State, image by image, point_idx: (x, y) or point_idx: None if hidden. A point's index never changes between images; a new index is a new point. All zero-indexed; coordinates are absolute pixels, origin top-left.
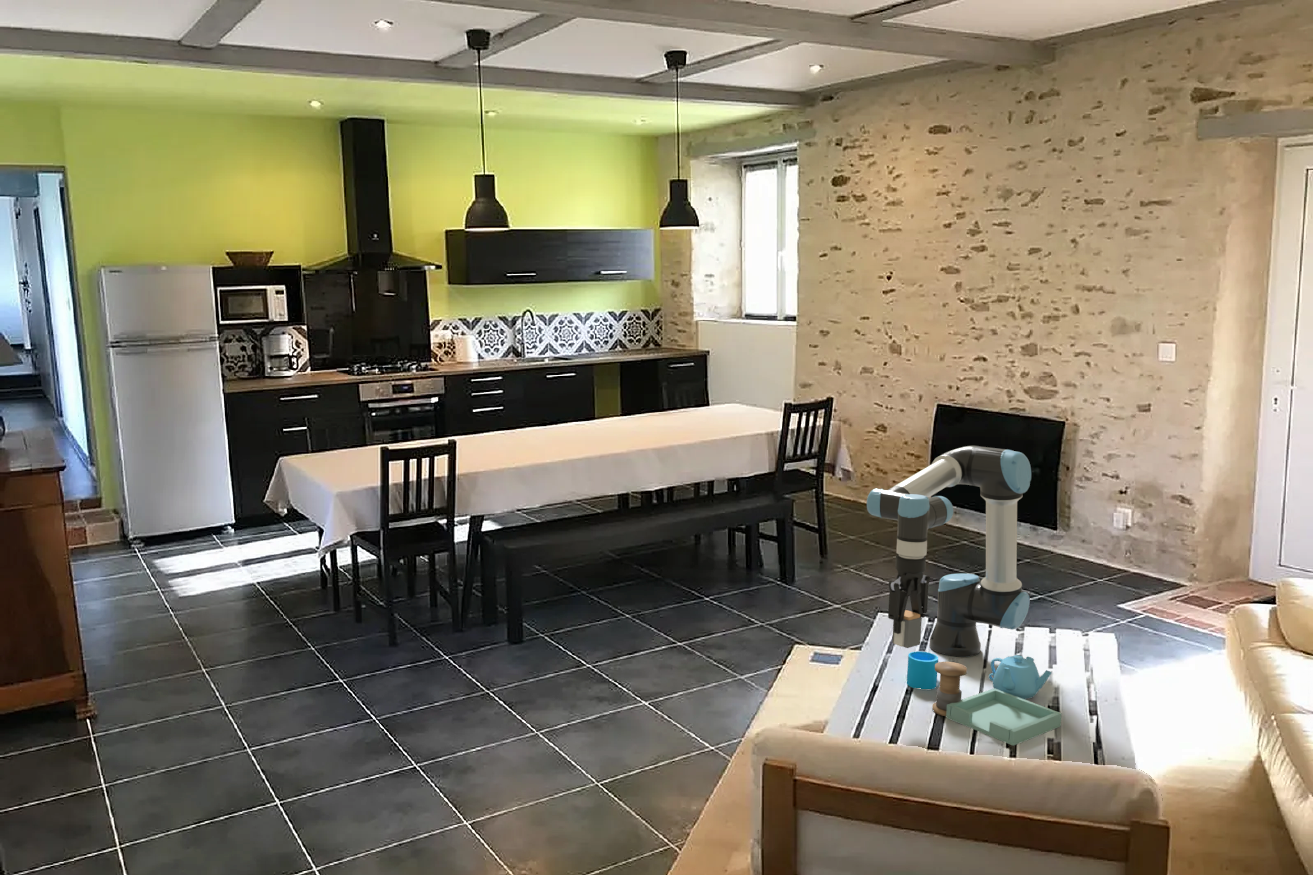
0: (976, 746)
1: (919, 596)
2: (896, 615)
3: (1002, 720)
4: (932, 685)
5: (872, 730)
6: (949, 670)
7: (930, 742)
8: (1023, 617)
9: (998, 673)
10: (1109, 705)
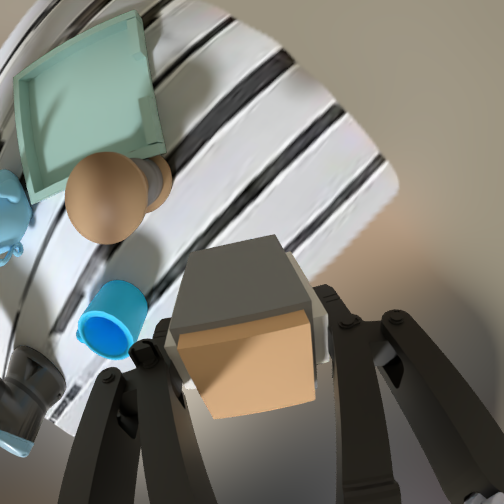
0: (206, 30)
1: (156, 483)
2: (412, 330)
3: (87, 97)
4: (112, 283)
5: (345, 161)
6: (120, 175)
7: (278, 72)
8: None
9: (8, 221)
10: None
